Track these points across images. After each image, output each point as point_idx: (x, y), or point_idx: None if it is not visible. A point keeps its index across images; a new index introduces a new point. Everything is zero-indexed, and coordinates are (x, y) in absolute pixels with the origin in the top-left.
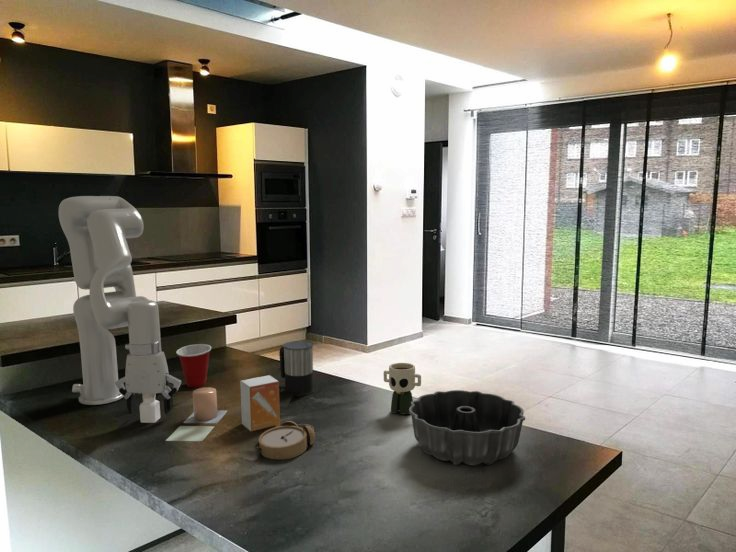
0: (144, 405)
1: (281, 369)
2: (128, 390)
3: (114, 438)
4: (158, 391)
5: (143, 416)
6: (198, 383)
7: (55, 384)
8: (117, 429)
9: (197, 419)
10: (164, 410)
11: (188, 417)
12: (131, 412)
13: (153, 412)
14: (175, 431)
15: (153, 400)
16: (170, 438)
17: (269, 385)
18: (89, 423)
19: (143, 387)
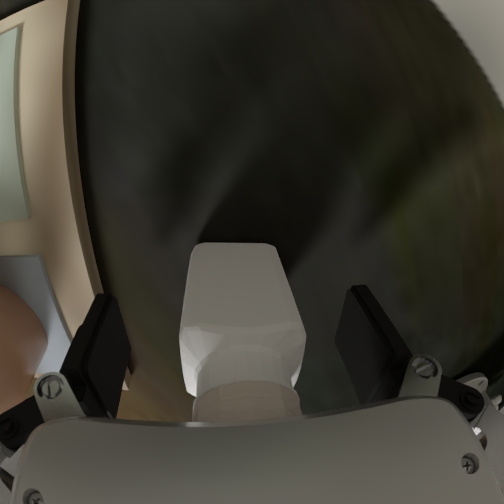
0: (257, 328)
1: None
2: (442, 408)
3: (360, 100)
4: (58, 425)
5: (261, 273)
6: None
7: None
8: (384, 217)
9: (4, 289)
10: (108, 308)
11: (59, 318)
12: (350, 291)
13: (186, 294)
14: (11, 143)
15: (197, 381)
16: (3, 56)
17: None
18: (478, 270)
19: (261, 489)
